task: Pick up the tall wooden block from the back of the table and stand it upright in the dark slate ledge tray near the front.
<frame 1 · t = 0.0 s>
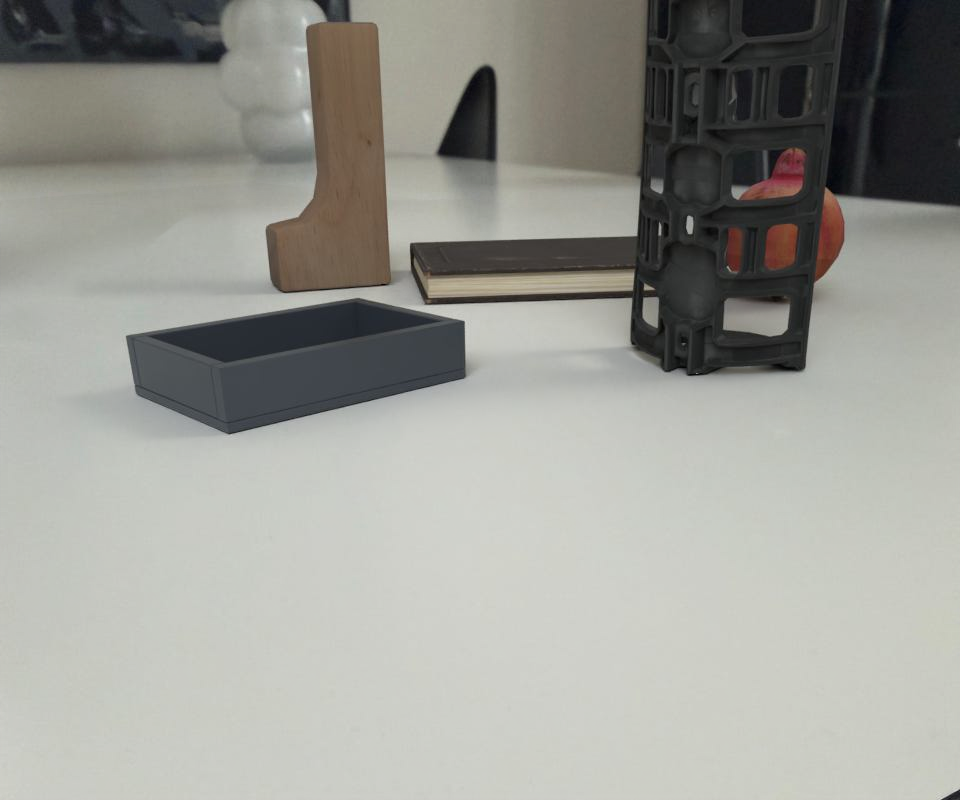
fruit: (774, 303, 73), on the table
wooden block: (331, 287, 81), on the table
holder: (704, 366, 57), on the table
ledge tray: (304, 385, 54), on the table
hardcover book: (558, 283, 81), on the table
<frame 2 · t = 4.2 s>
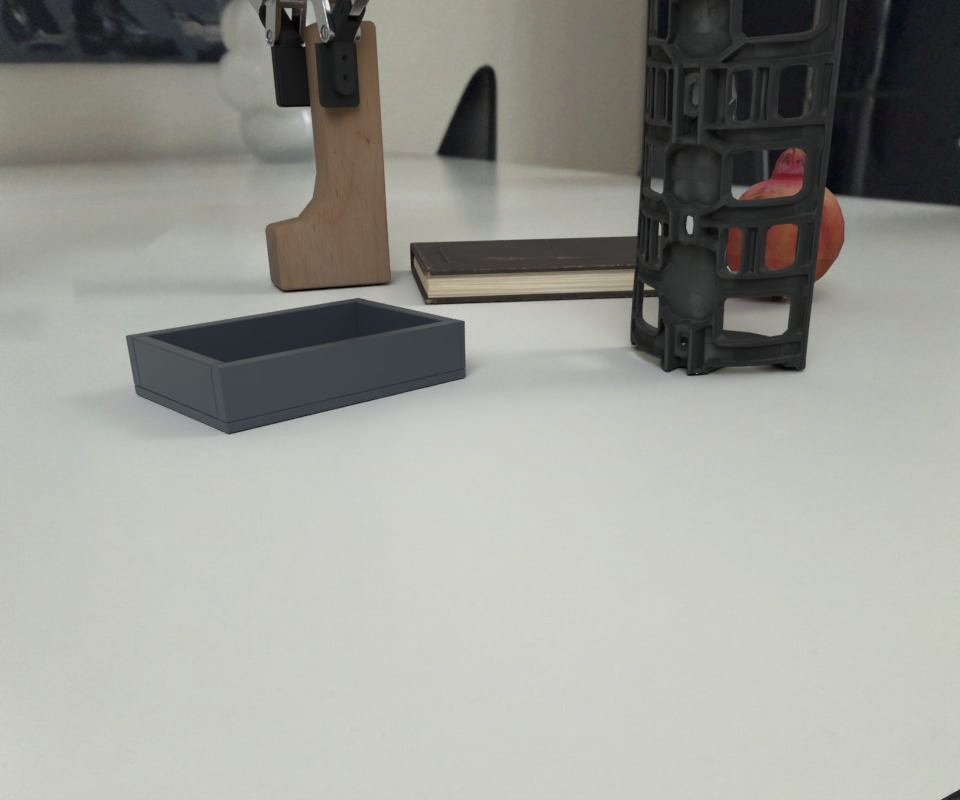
hand: (317, 104, 75), 13 cm above the table, tool pointing down, fingers closed on wooden block, 5 cm apart
wooden block: (331, 286, 81), on the table, touching gripper
everything else where it was.
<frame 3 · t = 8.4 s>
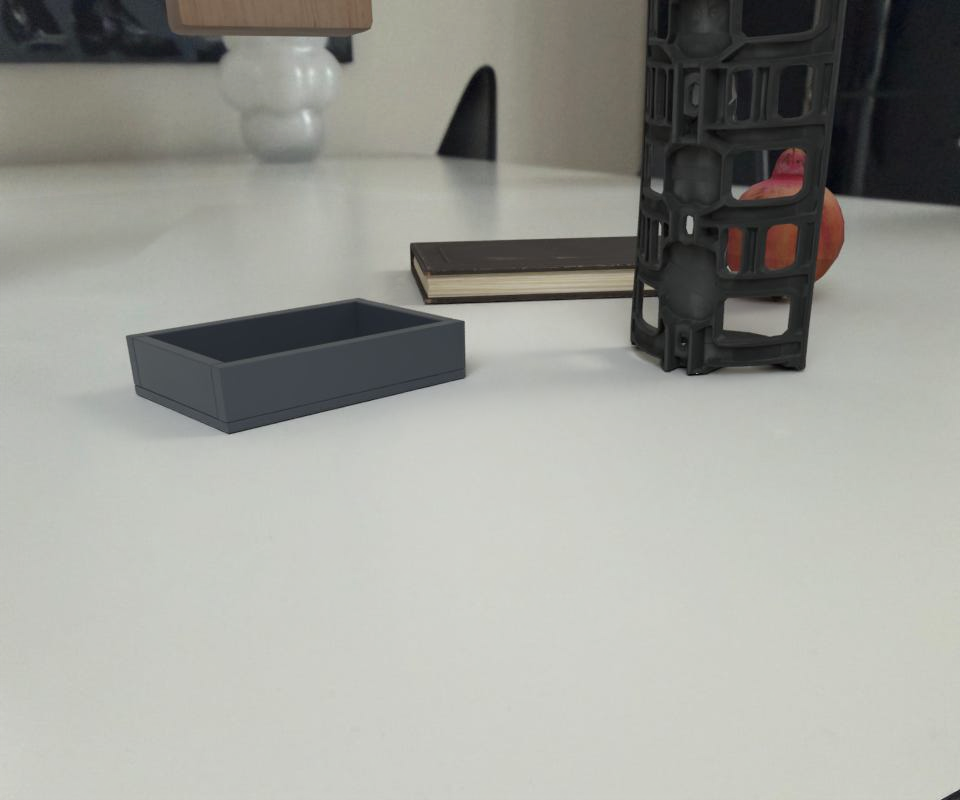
wooden block: (271, 38, 48), point 16 cm above the table, touching gripper
everything else where it was.
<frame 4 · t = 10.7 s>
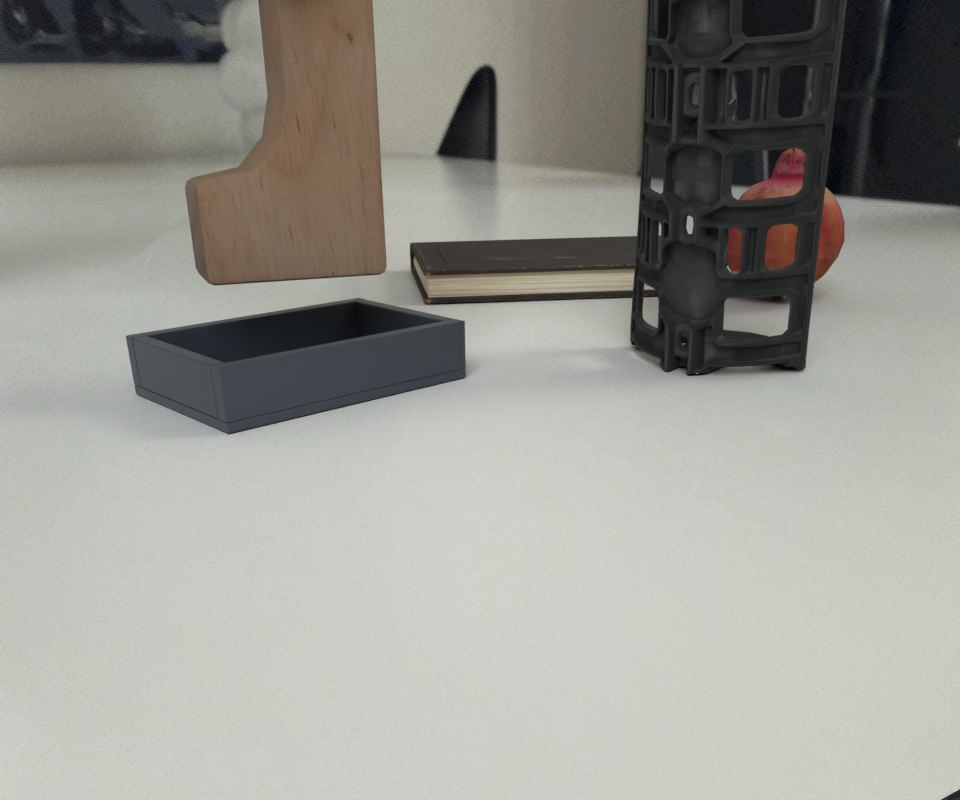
wooden block: (292, 279, 51), point 5 cm above the table, touching gripper
everything else where it was.
when the fingers open (13 cm above the table, at t = 12.4 s): wooden block stays where it is, resting on ledge tray.
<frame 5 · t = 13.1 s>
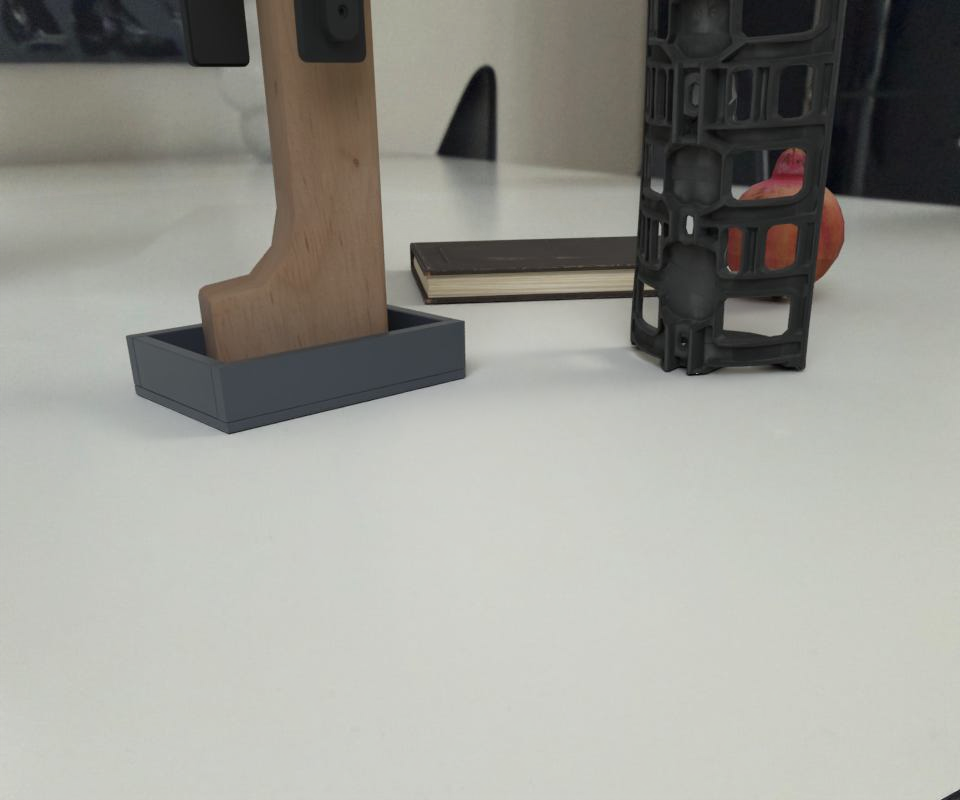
hand: (272, 64, 46), 15 cm above the table, tool pointing down, fingers open, 9 cm apart
wooden block: (300, 378, 54), resting on ledge tray
everything else where it was.
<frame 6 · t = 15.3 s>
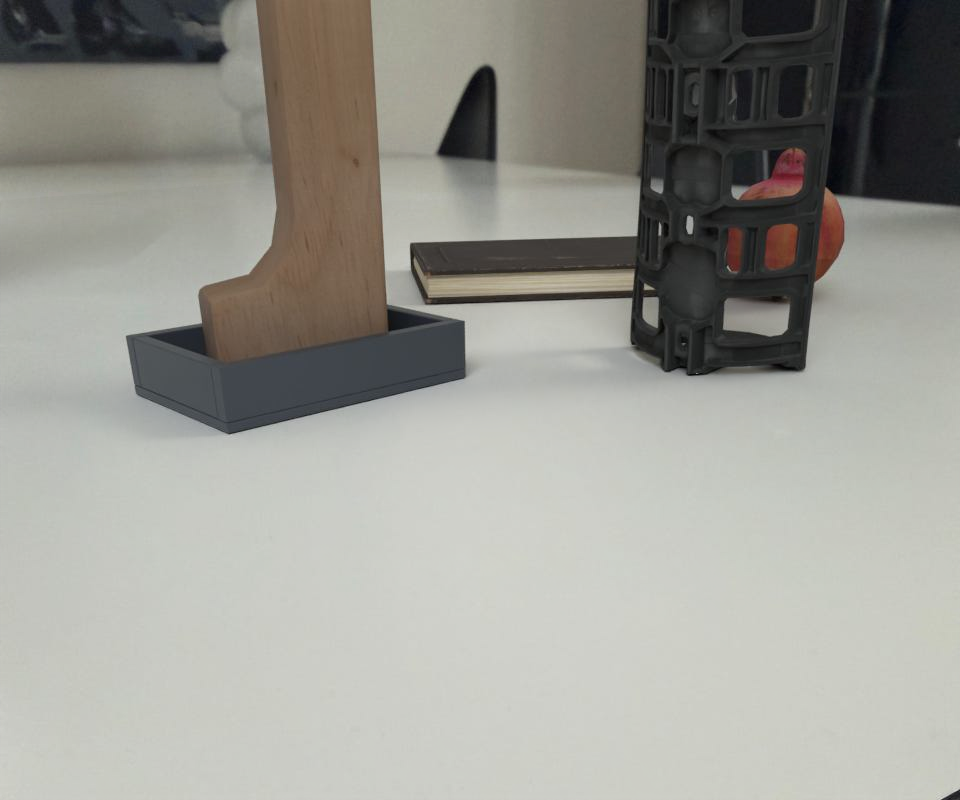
nothing on the table moved.
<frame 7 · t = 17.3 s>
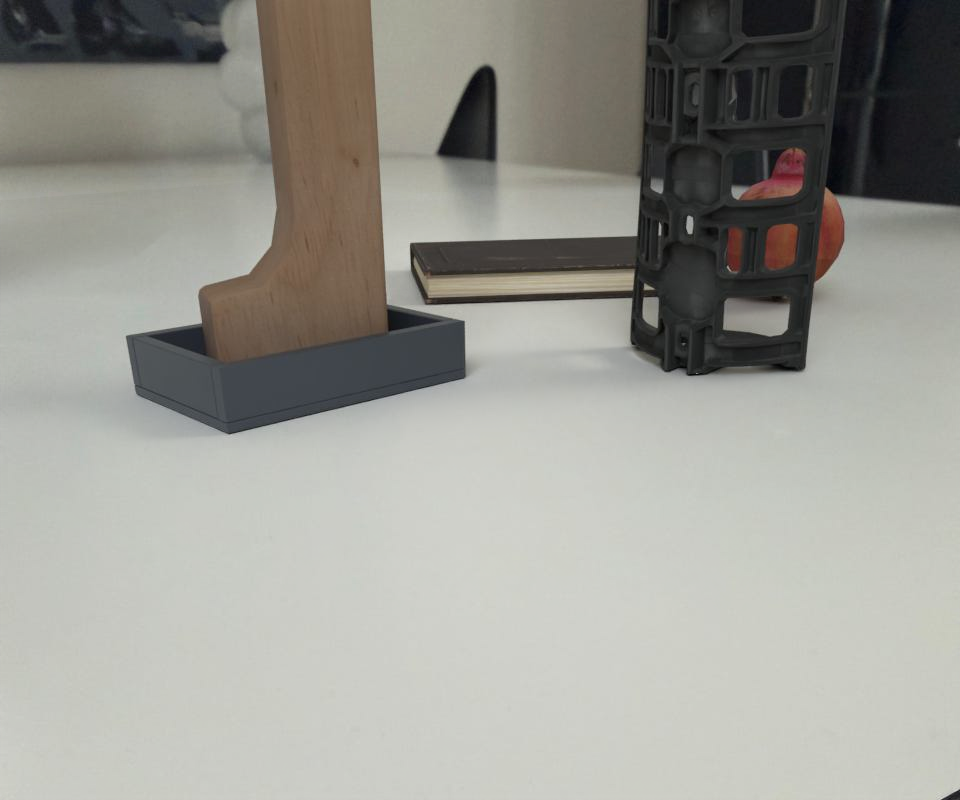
nothing on the table moved.
at the end: wooden block inside the target area in the ledge tray (0.3 cm from its centre), point 0.3 cm above the ledge tray's base; wooden block tilted 0°; the gripper is holding nothing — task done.
